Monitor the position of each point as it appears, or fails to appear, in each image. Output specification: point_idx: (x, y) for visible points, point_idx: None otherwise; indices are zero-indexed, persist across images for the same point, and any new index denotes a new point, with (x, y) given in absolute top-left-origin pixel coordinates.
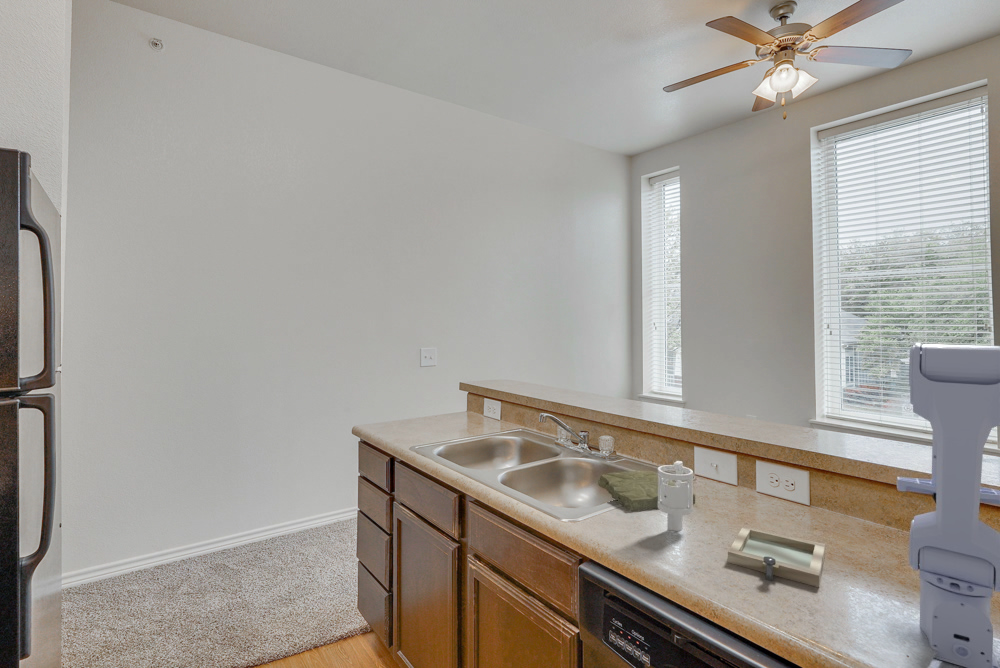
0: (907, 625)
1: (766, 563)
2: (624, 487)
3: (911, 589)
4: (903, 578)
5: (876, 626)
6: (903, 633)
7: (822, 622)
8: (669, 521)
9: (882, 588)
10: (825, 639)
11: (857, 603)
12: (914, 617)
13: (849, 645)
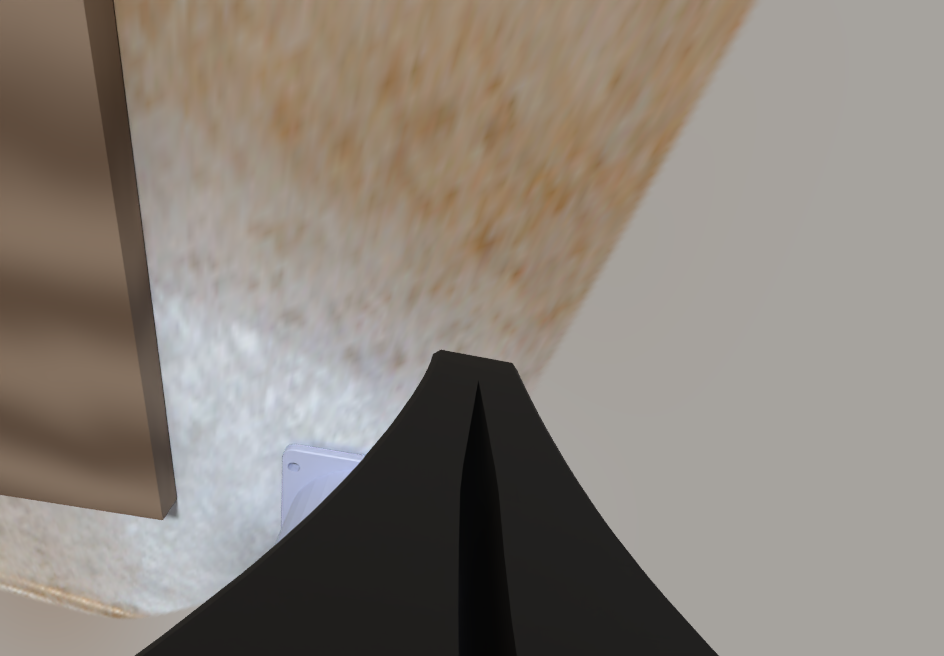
0: (269, 467)
1: None
2: None
3: (320, 192)
4: (301, 59)
5: (186, 498)
6: (254, 506)
7: (53, 523)
8: None
9: (198, 236)
10: (79, 579)
11: None
12: (296, 418)
13: (132, 583)
